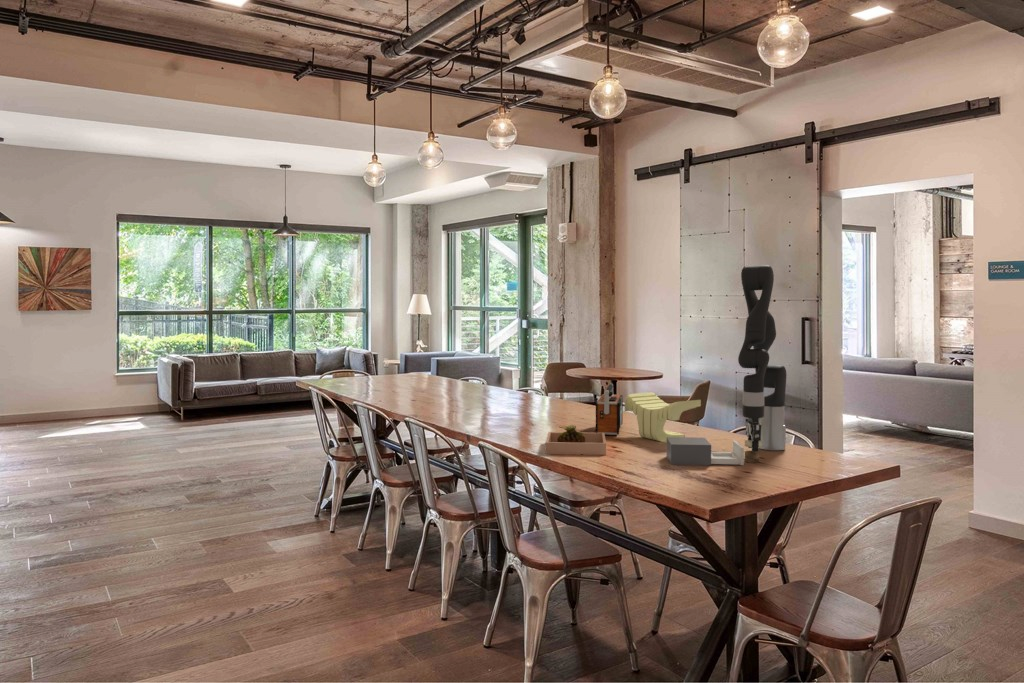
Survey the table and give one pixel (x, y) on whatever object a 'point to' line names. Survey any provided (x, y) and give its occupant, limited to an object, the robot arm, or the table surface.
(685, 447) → the housing
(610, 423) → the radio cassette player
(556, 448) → the planter frame
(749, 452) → the pedestal
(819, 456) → the table surface
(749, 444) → the cream domed part
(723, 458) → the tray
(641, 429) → the slatted curved stool
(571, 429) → the cactus
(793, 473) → the table surface
